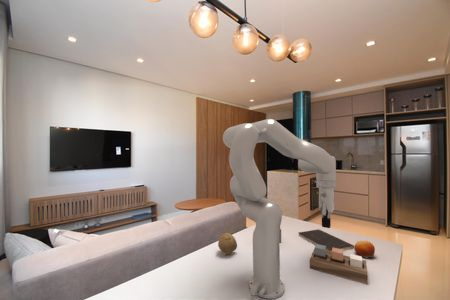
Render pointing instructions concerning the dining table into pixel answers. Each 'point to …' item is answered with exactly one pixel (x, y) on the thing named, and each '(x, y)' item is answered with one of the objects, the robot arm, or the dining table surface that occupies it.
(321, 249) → the slate key
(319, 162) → the robot arm
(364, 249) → the fruit
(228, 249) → the natural sponge
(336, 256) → the terracotta key
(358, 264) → the cream key
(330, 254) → the wooden key base
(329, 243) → the hardcover book
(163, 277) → the dining table surface
